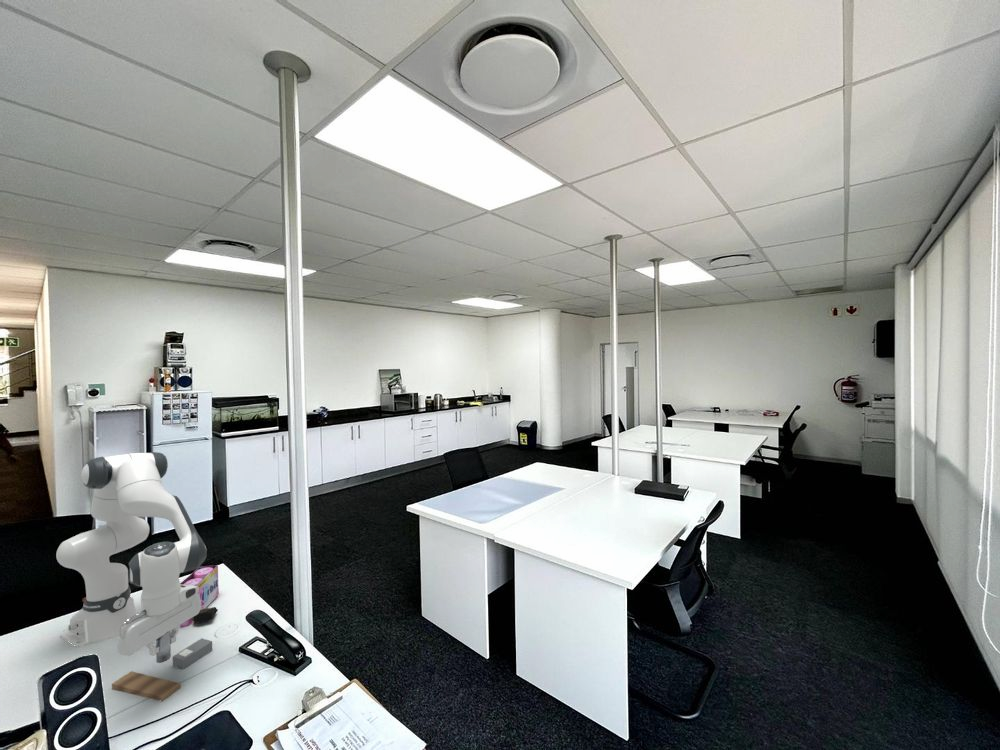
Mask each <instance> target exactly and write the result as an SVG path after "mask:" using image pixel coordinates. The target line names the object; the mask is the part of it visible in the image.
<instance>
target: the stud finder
mask: <svg viewBox="0 0 1000 750" xmlns="http://www.w3.org/2000/svg"><path fill="white" fill-rule="evenodd" d="M212 651H213V641H212V640H209V639H205V638H202V637H201V638H200V639H198V640H196V641H195V642H193V643H192V644H190V645H189V646H187V647H185V648H184V649H183V650H181V651H179V652H177V653H176V654H175V655H173V656H172V667H174V668H177V669H182V670H185V669H186V668H188V667H189V666H190V665H192V664H194V663H195V662H197V661H198V660H200V659H201V658H203V657H205V656H206V655H209V653H211V652H212Z"/></svg>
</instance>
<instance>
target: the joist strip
mask: <svg viewBox="0 0 1000 750" xmlns="http://www.w3.org/2000/svg"><path fill="white" fill-rule="evenodd" d="M181 687H182V685H181V683H180V682H175V681H172V680H167V679H164V678H160V677H156V676H153V675H147V674H144V673H139V672H136V671H133V670H132V671H129V672H127V673H126V674H124V675H123V676H122V677H120V678H119V679H117V680H116V681H114V682H113V683H111V689H112V691H118V692H123V693H127V694H131V695H135V696H138V697H139V696H140V697H143V698H146V699H147V698H148V699H152V700H156V701H159V700H161V701H160V702H164V701H165V700H166V699H168V698H169V697H171V696H172V695H173V694H174V693H176V692H177V691H178V690H180V689H181ZM163 700H164V701H163Z"/></svg>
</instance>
